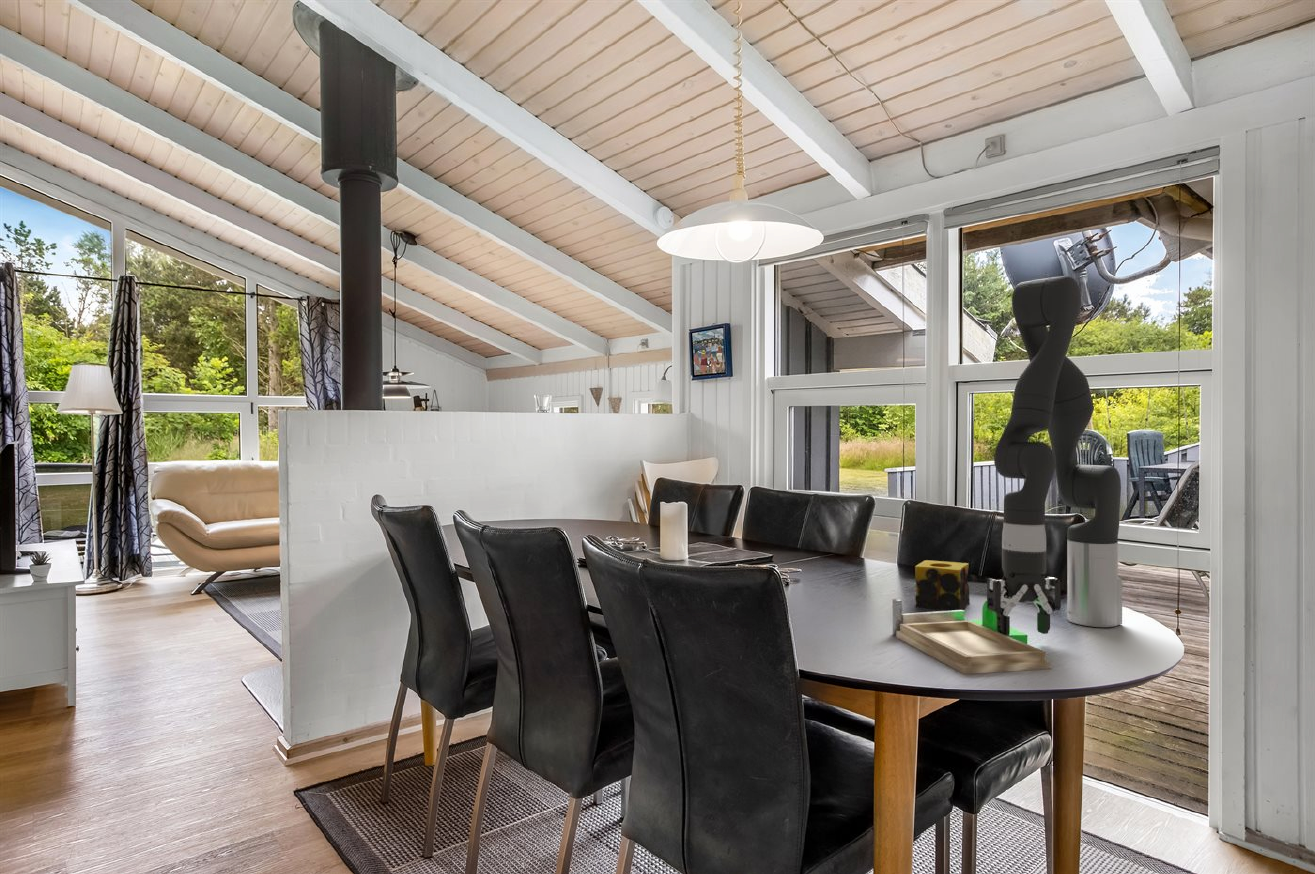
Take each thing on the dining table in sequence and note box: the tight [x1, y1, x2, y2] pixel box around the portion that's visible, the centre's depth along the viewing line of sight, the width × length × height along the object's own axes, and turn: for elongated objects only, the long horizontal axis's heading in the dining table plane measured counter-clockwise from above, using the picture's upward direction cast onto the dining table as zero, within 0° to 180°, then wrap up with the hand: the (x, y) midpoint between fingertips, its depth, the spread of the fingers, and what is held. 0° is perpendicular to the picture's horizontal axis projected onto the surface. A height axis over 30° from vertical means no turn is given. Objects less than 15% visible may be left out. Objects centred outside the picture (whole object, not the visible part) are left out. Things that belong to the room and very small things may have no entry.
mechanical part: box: [969, 600, 1028, 644], centre depth 147 cm, size 12×6×8 cm, turn 4°
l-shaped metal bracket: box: [892, 598, 966, 637], centre depth 150 cm, size 16×2×7 cm, turn 104°
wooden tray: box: [895, 619, 1051, 675], centre depth 136 cm, size 16×23×3 cm
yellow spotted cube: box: [914, 559, 971, 611], centre depth 172 cm, size 10×10×10 cm
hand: (1023, 633), depth 140 cm, fingers open, 7 cm apart
